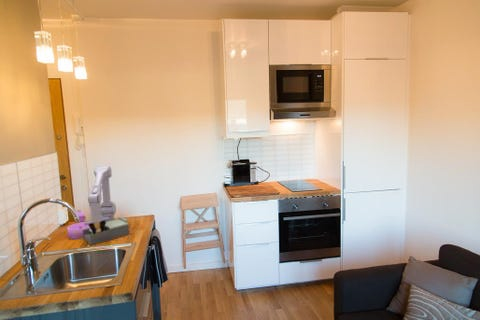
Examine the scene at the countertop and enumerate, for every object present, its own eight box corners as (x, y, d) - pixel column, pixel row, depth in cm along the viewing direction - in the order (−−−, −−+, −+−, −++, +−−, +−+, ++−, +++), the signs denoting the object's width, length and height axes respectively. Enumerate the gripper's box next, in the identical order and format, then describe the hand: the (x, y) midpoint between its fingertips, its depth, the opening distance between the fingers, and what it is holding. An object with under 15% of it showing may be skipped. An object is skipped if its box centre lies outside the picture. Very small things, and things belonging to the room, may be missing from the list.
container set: (94, 236, 200) (92, 216, 198) (68, 241, 193) (65, 221, 191) (92, 225, 222) (90, 207, 220) (68, 229, 215) (66, 211, 213)
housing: (83, 239, 195) (82, 229, 194) (120, 229, 211) (120, 220, 210) (90, 245, 185) (89, 235, 184) (129, 234, 201) (128, 225, 200)
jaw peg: (96, 238, 188) (95, 228, 188) (94, 236, 191) (93, 227, 191) (102, 236, 191) (102, 227, 190) (100, 234, 194) (99, 225, 193)
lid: (102, 224, 202) (101, 220, 202) (120, 220, 210) (119, 215, 210) (110, 229, 192) (109, 224, 192) (128, 224, 200) (128, 220, 200)
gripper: (85, 216, 181) (87, 238, 183) (110, 211, 191) (112, 232, 193) (81, 214, 187) (84, 235, 188) (106, 209, 196) (108, 229, 198)
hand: (98, 233), depth 191 cm, fingers closed on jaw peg, 4 cm apart
